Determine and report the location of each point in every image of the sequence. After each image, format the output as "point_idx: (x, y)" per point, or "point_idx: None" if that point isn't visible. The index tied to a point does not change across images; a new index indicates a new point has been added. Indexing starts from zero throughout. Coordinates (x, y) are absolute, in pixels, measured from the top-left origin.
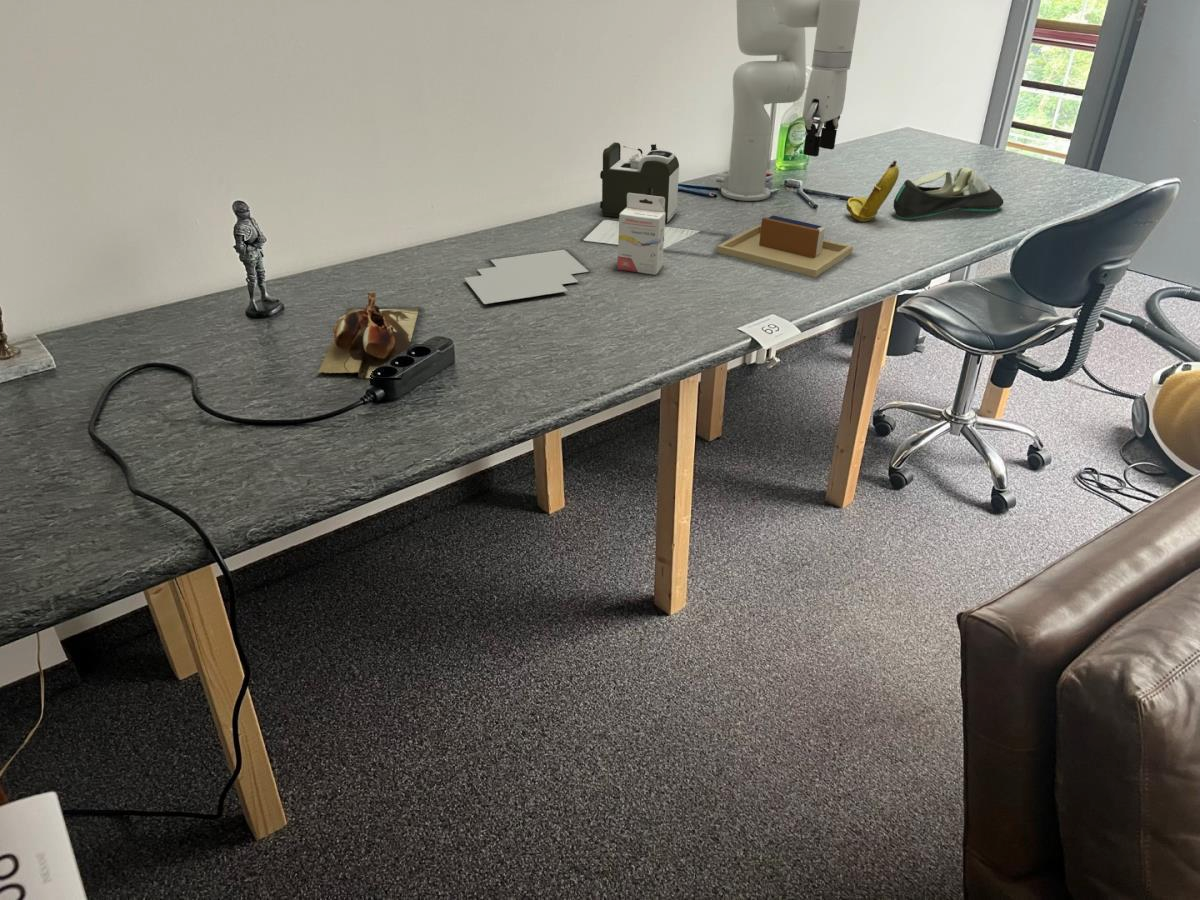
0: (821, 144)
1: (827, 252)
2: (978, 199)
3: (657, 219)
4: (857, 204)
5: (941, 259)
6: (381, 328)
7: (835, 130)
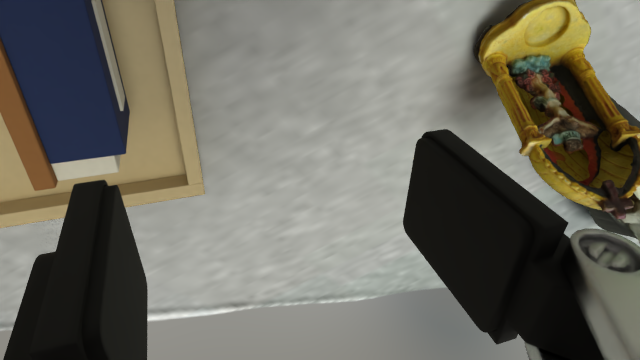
0: (428, 161)
1: (148, 136)
2: (617, 230)
3: None
4: (547, 28)
5: (320, 293)
6: None
7: (495, 339)
